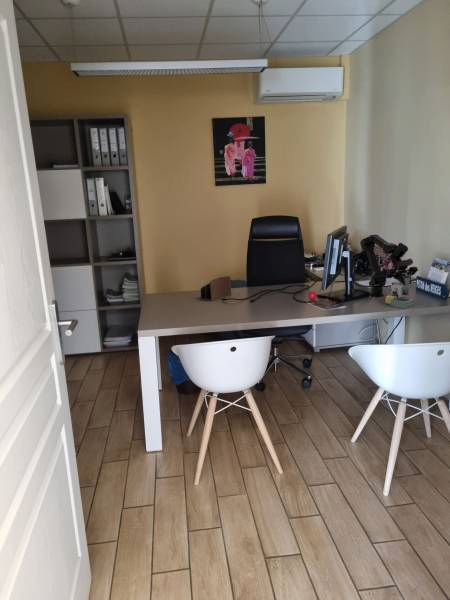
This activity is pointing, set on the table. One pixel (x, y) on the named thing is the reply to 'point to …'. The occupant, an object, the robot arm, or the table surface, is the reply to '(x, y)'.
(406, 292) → the stop pin
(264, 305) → the table surface
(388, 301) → the chock
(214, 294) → the letter holder
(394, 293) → the trolley castor
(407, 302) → the parts tray
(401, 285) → the mechanical component
